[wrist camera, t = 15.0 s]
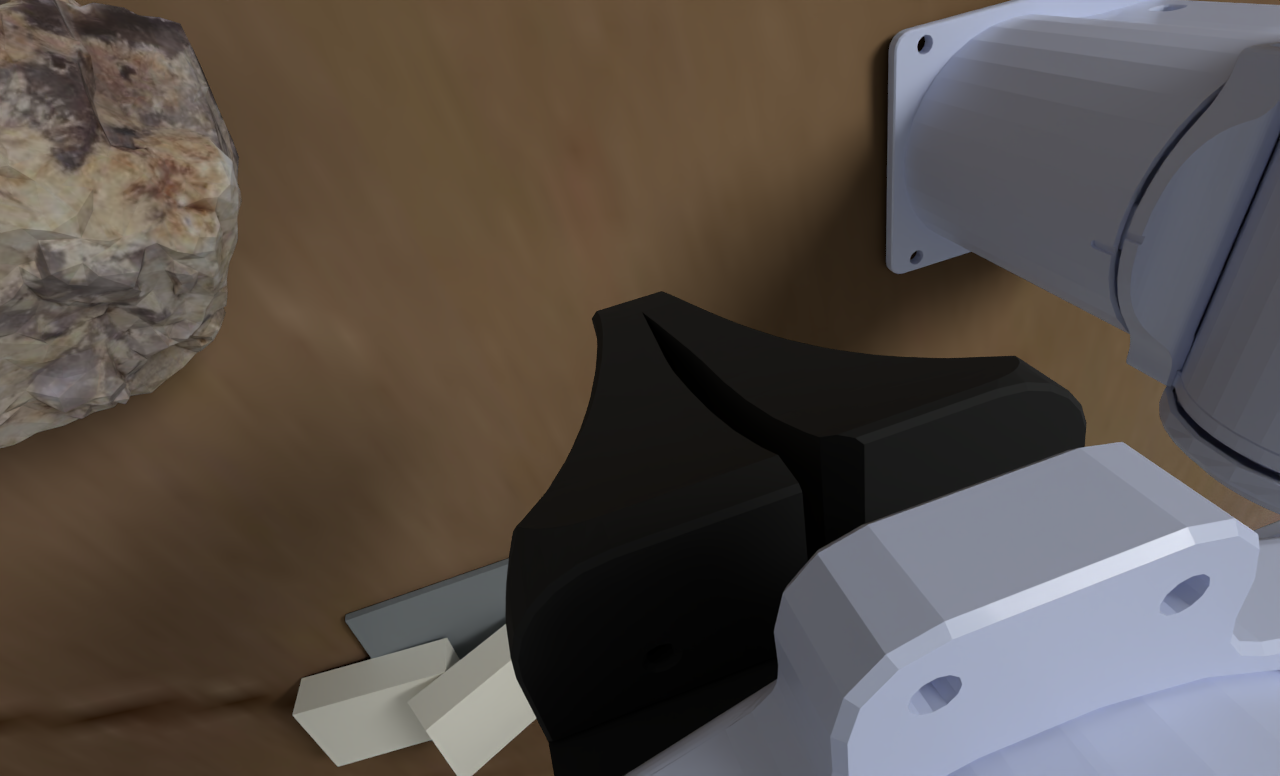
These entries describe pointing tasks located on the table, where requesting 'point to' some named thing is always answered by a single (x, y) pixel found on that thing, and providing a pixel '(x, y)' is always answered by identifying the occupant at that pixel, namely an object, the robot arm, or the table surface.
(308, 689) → the domino
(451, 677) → the domino
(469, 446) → the table surface
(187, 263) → the rock
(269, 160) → the table surface
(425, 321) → the table surface
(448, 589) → the mat
